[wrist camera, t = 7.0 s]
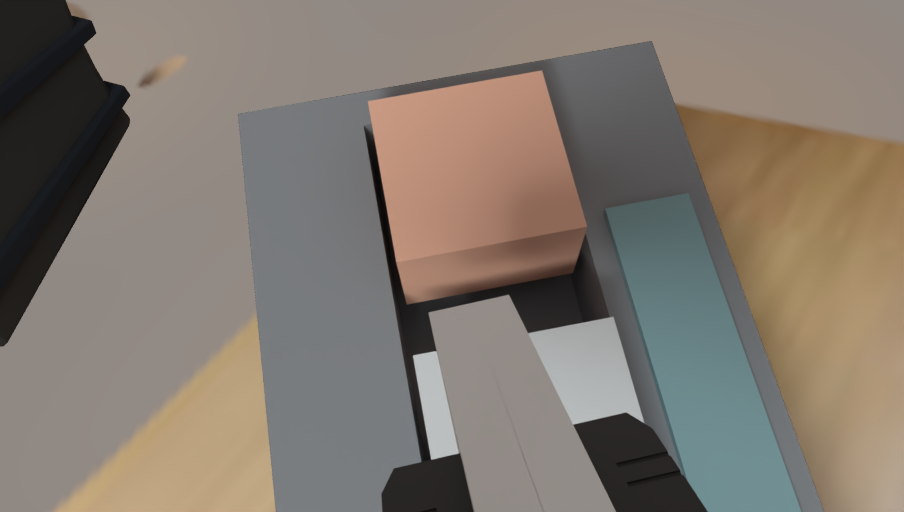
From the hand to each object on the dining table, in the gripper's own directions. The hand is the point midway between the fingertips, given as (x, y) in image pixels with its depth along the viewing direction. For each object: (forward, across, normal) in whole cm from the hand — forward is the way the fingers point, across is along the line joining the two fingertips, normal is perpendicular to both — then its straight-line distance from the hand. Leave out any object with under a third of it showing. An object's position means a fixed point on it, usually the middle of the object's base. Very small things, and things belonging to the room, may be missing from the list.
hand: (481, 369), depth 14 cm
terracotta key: (+10, +1, 0) cm, 10 cm away
